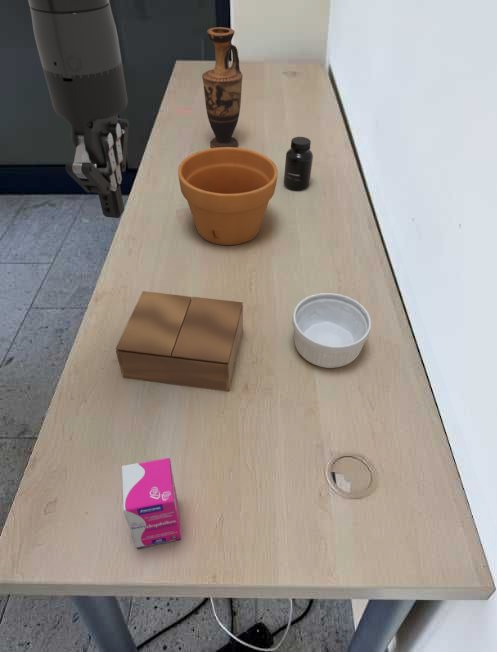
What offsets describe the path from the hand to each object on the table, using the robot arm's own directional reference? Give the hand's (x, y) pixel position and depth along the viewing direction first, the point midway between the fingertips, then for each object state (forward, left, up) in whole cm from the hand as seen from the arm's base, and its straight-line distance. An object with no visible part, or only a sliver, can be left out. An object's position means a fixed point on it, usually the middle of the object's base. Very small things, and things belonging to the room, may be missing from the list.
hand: (114, 214), depth 59 cm
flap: (+2, +6, -24) cm, 25 cm away
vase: (+13, +88, -31) cm, 94 cm away
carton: (+6, +5, -31) cm, 32 cm away
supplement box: (+4, -25, -31) cm, 40 cm away
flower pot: (+14, +44, -31) cm, 56 cm away
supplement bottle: (+32, +64, -31) cm, 78 cm away
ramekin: (+31, +6, -31) cm, 44 cm away
